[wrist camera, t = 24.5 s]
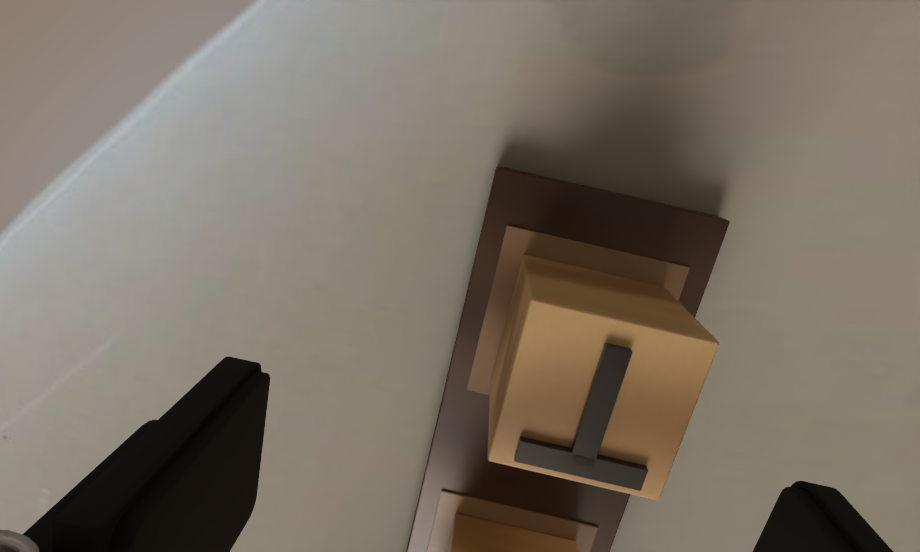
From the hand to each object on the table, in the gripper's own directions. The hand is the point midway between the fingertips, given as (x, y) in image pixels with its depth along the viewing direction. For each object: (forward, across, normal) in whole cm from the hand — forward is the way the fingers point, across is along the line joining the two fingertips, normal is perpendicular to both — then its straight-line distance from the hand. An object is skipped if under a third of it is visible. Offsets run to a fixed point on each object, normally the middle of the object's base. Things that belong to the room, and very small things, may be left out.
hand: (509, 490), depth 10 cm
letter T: (+10, -3, +1) cm, 10 cm away
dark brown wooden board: (+11, -3, +6) cm, 13 cm away
